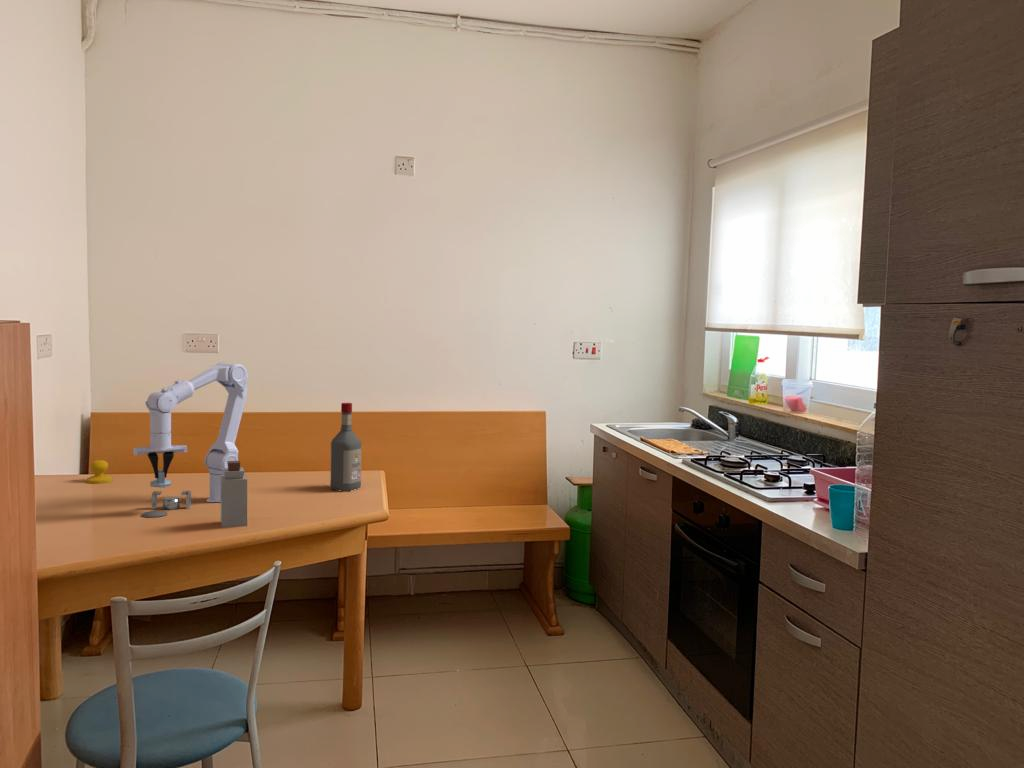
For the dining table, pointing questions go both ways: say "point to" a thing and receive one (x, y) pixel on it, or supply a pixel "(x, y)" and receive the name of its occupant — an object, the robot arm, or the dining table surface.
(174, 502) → the metal ball with blocks
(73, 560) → the dining table surface
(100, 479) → the doorknob
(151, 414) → the robot arm
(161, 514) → the pad
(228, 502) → the perfume bottle
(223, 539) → the dining table surface
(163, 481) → the cap
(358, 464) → the liquor
